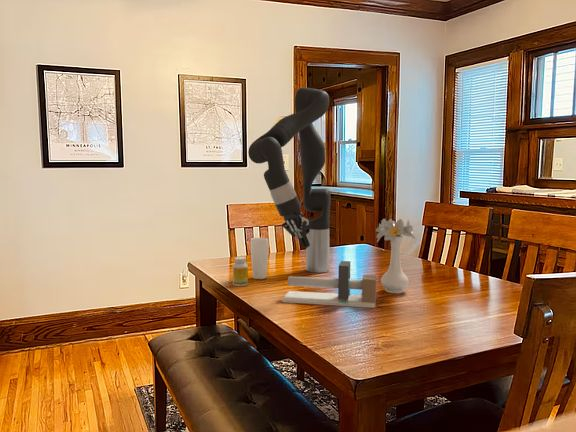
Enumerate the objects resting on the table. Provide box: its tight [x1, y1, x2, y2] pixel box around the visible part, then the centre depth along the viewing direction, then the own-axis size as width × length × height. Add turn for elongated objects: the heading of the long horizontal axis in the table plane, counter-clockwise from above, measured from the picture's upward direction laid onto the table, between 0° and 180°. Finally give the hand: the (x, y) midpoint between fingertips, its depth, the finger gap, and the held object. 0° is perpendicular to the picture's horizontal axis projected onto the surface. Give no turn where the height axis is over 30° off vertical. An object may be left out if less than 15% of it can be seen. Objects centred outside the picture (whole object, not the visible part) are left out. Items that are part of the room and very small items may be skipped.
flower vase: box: [375, 218, 417, 294], centre depth 168 cm, size 13×18×25 cm
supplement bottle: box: [232, 256, 249, 287], centre depth 177 cm, size 5×5×10 cm
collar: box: [337, 260, 351, 300], centre depth 156 cm, size 3×8×10 cm, turn 169°
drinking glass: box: [250, 237, 270, 280], centre depth 187 cm, size 7×7×15 cm
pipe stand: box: [281, 274, 377, 309], centre depth 157 cm, size 28×11×8 cm, turn 79°
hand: (306, 247), depth 160 cm, fingers closed
